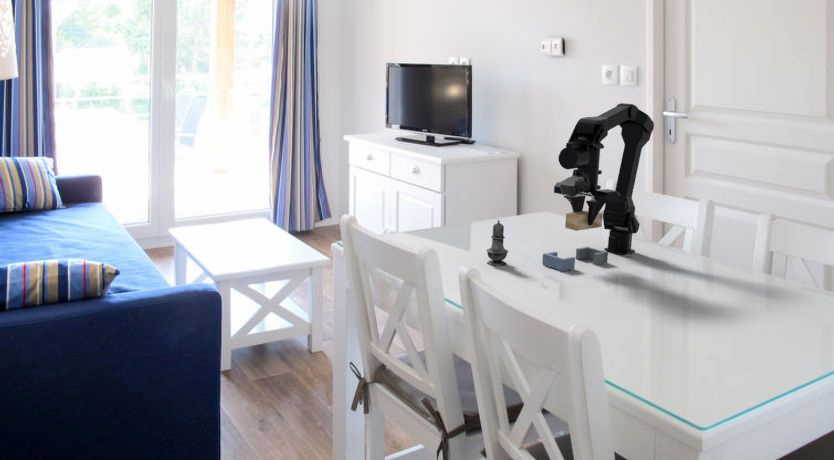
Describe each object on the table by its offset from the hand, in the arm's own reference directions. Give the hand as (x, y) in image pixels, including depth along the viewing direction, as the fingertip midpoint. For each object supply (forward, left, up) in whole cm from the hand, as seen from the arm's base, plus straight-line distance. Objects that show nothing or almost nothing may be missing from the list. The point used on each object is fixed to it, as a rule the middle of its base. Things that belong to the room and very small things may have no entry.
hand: (583, 223), depth 239 cm
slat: (0, 0, -1) cm, 1 cm away
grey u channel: (-5, -1, -11) cm, 12 cm away
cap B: (+8, -1, -11) cm, 14 cm away
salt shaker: (+20, -12, -11) cm, 26 cm away
